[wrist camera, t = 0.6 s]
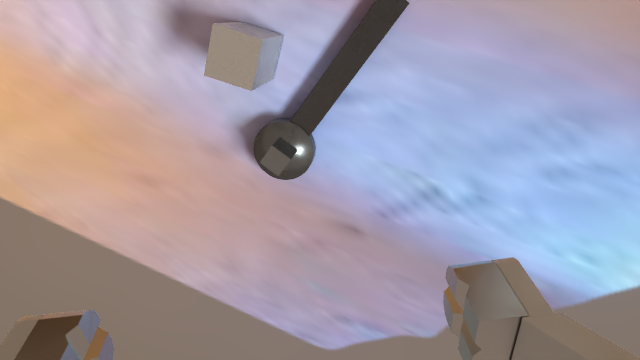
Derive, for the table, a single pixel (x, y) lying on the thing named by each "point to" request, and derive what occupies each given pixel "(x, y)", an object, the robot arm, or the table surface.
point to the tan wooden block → (242, 54)
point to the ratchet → (322, 98)
